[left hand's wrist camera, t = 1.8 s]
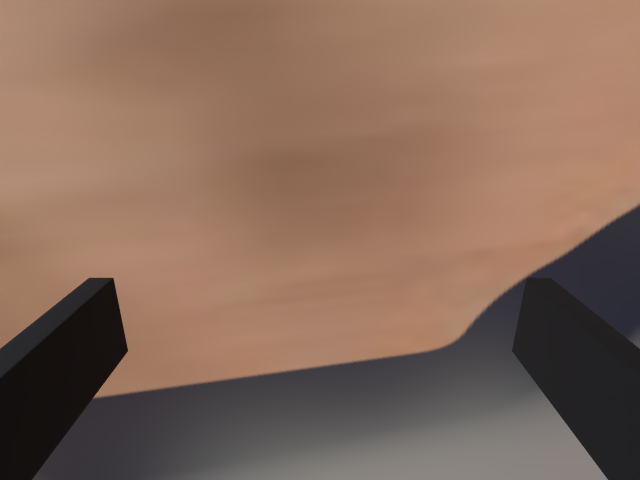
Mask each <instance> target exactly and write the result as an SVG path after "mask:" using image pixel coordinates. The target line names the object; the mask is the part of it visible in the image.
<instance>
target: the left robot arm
mask: <svg viewBox="0 0 640 480" xmlns="http://www.w3.org/2000/svg"><path fill="white" fill-rule="evenodd" d="M127 352H128V349H127V344H126V339H125V334H124V329H123V324H122V319H121V314H120V309H119V304H118V299H117V294H116V289H115V284H114V279H113V278H89V279H87V280H86V281H85V282H84V283H82V284H81V285H80V286H79V287H77V288H76V289H75V290H74V291H72V292H71V293H70V294H68V295H67V296H66V297H65V298H63V299H62V300H61V301H60V302H58V303H57V304H56V305H55V306H53V307H52V308H51V309H50V310H48V311H47V312H46V313H45V314H43V315H42V316H41V317H40V318H38V319H37V320H36V321H35V322H33V323H32V324H31V325H30V326H28V327H27V328H26V329H25V330H23V331H22V332H21V333H20V334H18V335H17V336H16V337H15V338H13V339H12V340H11V341H10V342H8V343H7V344H6V345H5V346H3V347H2V348H1V349H0V480H32V479H33V477H34V476H35V475H36V473H37V472H38V471H39V469H40V468H41V467H42V465H43V464H44V463H45V461H46V460H47V459H48V457H49V456H50V455H51V453H52V452H53V451H54V449H55V448H56V447H57V445H58V444H59V443H60V441H61V440H62V439H63V437H64V436H65V435H66V433H67V432H68V431H69V429H70V428H71V426H72V425H73V424H74V423H75V421H76V420H77V418H78V417H79V416H80V414H81V413H82V412H83V410H84V409H85V408H86V406H87V405H88V404H89V402H90V401H91V400H92V398H93V397H94V396H95V394H96V393H97V392H98V390H99V389H100V388H101V386H102V385H103V384H104V382H105V381H106V380H107V378H108V377H109V376H110V374H111V373H112V372H113V370H114V369H115V368H116V366H117V365H118V364H119V362H120V361H121V360H122V358H123V357H124V356H125V354H126V353H127ZM512 352H513V353H514V354H515V356H516V357H517V358H518V360H519V361H520V362H521V364H522V365H523V366H524V368H525V369H526V370H527V372H528V373H529V374H530V375H531V377H532V378H533V380H534V381H535V382H536V384H537V385H538V386H539V388H540V389H541V390H542V392H543V393H544V394H545V396H546V397H547V398H548V400H549V401H550V402H551V404H552V405H553V406H554V408H555V409H556V410H557V412H558V413H559V414H560V416H561V417H562V419H563V420H564V421H565V423H566V424H567V425H568V427H569V428H570V429H571V431H572V432H573V433H574V435H575V436H576V437H577V439H578V440H579V441H580V443H581V444H582V445H583V447H584V448H585V449H586V451H587V452H588V453H589V455H590V456H591V457H592V459H593V460H594V461H595V463H596V464H597V465H598V467H599V468H600V469H601V471H602V472H603V473H604V475H605V476H606V477H607V479H608V480H640V349H639V348H638V347H637V346H635V345H634V344H633V343H632V342H630V341H629V340H628V339H627V338H625V337H624V336H623V335H622V334H620V333H619V332H618V331H617V330H615V329H614V328H613V327H612V326H610V325H609V324H608V323H607V322H605V321H604V320H603V319H602V318H600V317H599V316H598V315H597V314H595V313H594V312H593V311H592V310H590V309H589V308H588V307H587V306H585V305H584V304H583V303H582V302H580V301H579V300H578V299H576V298H575V297H574V296H573V295H571V294H570V293H569V292H568V291H566V290H565V289H564V288H563V287H561V286H560V285H559V284H558V283H556V282H555V281H554V280H553V279H551V278H527V279H526V284H525V289H524V294H523V299H522V304H521V309H520V314H519V319H518V324H517V329H516V334H515V339H514V344H513V349H512Z"/></svg>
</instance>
